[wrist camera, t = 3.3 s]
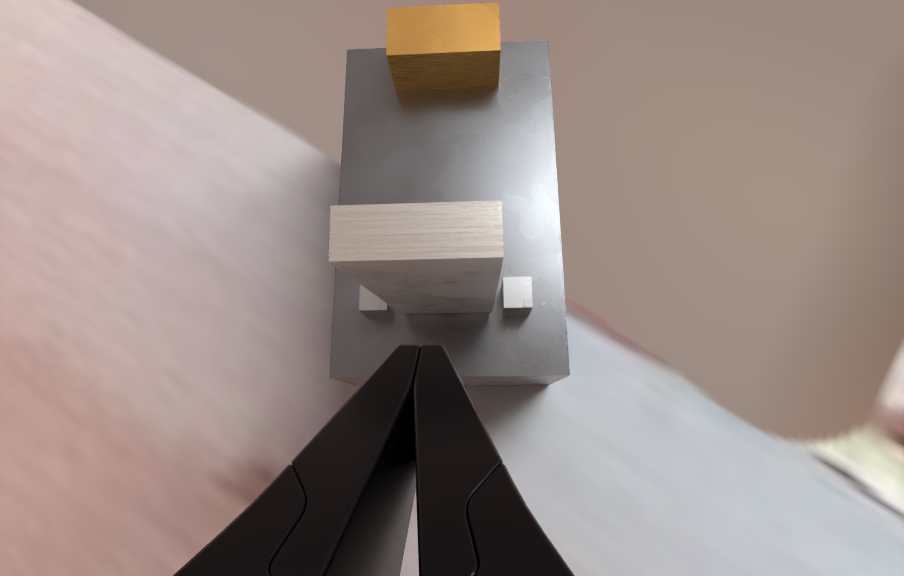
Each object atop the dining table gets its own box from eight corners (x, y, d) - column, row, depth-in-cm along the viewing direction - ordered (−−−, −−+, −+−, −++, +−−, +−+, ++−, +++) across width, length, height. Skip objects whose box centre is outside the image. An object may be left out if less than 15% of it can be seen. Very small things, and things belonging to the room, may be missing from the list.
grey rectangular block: (549, 384, 21) (581, 369, 14) (363, 386, 22) (310, 372, 15) (535, 114, 24) (555, -1, 18) (373, 120, 25) (332, 10, 18)
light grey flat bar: (491, 284, 17) (491, 313, 17) (403, 286, 17) (403, 315, 17) (502, 200, 9) (503, 257, 8) (329, 205, 9) (328, 261, 9)
